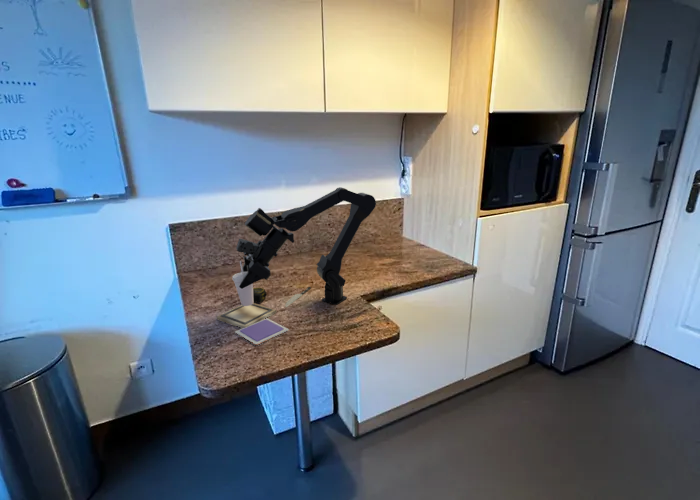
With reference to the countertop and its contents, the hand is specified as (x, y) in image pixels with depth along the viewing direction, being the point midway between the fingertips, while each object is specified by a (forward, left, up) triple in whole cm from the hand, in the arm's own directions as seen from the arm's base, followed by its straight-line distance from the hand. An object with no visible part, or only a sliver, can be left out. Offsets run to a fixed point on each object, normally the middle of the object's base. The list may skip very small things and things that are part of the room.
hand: (239, 284), depth 113 cm
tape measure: (-11, -6, -12) cm, 17 cm away
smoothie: (-1, +1, -7) cm, 7 cm away
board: (-1, +1, -11) cm, 11 cm away
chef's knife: (-20, +4, -12) cm, 23 cm away
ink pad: (+4, +13, -11) cm, 17 cm away
